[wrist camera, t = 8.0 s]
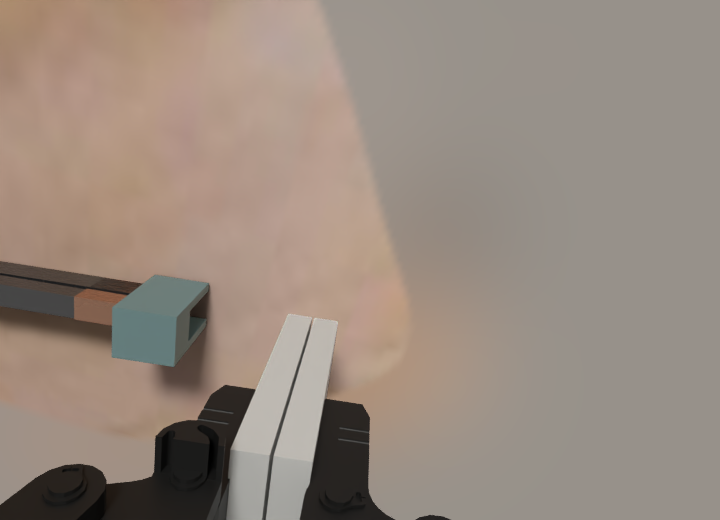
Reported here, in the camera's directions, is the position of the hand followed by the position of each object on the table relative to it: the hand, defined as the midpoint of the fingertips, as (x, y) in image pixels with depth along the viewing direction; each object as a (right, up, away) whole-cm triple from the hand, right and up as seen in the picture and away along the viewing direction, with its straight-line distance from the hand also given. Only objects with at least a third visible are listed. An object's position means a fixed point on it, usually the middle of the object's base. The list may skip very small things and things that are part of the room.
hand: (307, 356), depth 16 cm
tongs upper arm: (-10, +2, +1) cm, 11 cm away
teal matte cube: (-5, +2, +3) cm, 6 cm away
